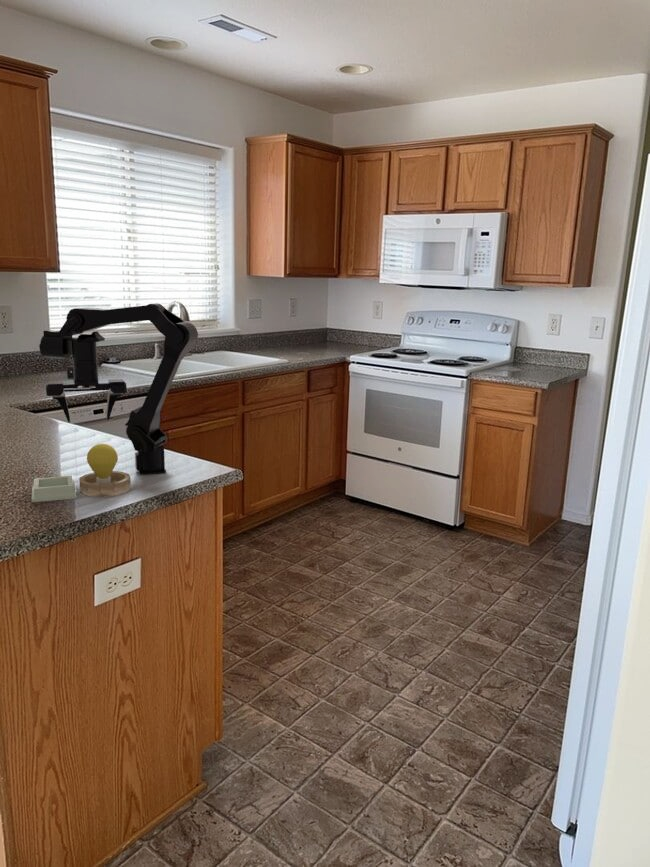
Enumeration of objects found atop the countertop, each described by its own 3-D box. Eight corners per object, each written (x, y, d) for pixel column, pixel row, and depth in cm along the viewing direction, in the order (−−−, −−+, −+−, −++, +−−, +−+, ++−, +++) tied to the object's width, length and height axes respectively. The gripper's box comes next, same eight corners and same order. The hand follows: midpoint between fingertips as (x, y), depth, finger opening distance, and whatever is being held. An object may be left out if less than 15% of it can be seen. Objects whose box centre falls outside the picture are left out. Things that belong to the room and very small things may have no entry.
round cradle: (127, 480, 161) (127, 469, 161) (132, 494, 151) (132, 482, 151) (79, 484, 157) (78, 473, 157) (81, 499, 147) (80, 487, 147)
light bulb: (124, 486, 154) (123, 444, 152) (98, 492, 149) (96, 449, 147) (108, 480, 159) (106, 439, 156) (82, 486, 154) (80, 443, 151)
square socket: (74, 486, 156) (73, 474, 155) (76, 498, 148) (75, 486, 147) (32, 489, 153) (31, 478, 152) (31, 502, 145) (30, 490, 144)
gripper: (121, 354, 176) (123, 413, 180) (44, 356, 169) (48, 416, 173) (125, 360, 166) (128, 421, 170) (44, 361, 159) (48, 426, 163)
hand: (88, 421), depth 169 cm, fingers open, 9 cm apart
